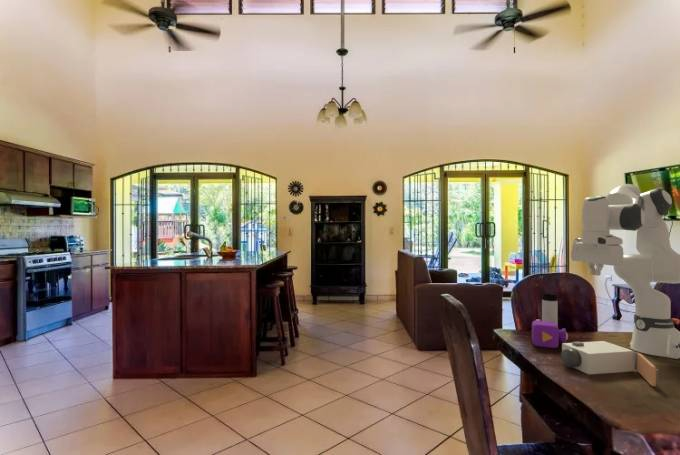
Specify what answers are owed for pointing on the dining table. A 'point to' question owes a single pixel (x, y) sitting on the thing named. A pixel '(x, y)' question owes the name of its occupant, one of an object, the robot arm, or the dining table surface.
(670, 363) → the dining table surface
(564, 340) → the toy camera
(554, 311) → the travel mug
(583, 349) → the white projector
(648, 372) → the side door
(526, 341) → the dining table surface
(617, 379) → the dining table surface
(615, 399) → the dining table surface
